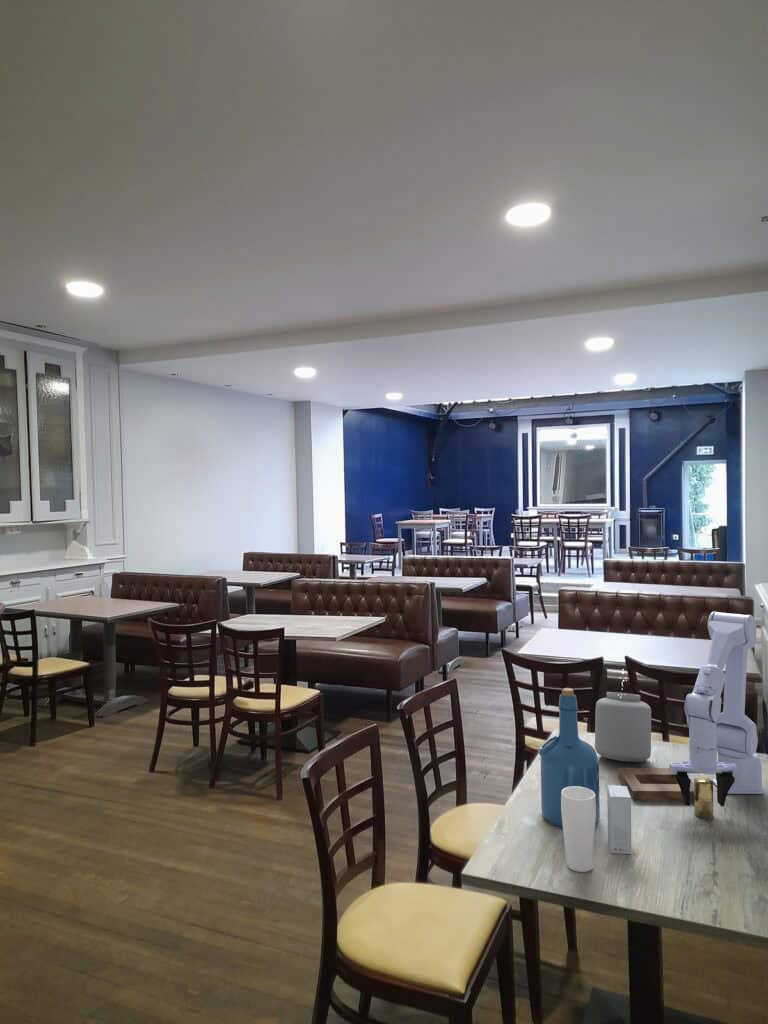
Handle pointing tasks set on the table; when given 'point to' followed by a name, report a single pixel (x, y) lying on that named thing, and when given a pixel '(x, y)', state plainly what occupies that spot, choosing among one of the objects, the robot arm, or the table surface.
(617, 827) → the skincare box
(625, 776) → the jig plate
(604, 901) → the table surface
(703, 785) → the brass peg
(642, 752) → the jar
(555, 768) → the wine bottle
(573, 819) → the drinking glass
